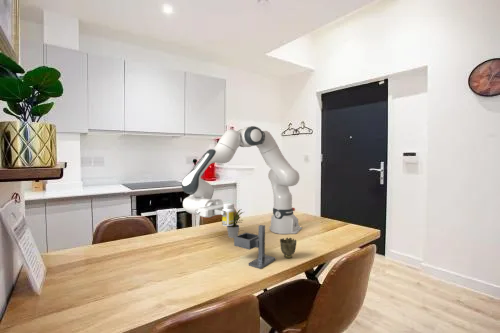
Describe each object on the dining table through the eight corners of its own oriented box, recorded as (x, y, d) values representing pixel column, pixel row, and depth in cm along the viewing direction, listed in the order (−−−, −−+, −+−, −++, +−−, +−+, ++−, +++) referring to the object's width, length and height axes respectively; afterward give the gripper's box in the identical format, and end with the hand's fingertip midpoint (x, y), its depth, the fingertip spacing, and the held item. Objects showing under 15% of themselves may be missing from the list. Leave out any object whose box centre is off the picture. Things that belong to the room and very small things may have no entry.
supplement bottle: (233, 223, 130) (233, 203, 130) (233, 226, 125) (233, 205, 124) (222, 223, 130) (222, 203, 129) (221, 226, 124) (221, 205, 124)
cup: (283, 261, 118) (283, 243, 117) (277, 255, 125) (277, 238, 124) (299, 259, 120) (299, 241, 119) (292, 253, 127) (292, 236, 126)
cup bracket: (247, 252, 128) (248, 219, 127) (275, 259, 119) (275, 224, 118) (231, 260, 118) (231, 224, 118) (260, 269, 109) (260, 230, 109)
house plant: (249, 233, 159) (249, 205, 159) (246, 240, 146) (246, 210, 145) (225, 232, 161) (225, 205, 160) (220, 239, 147) (220, 210, 146)
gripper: (192, 204, 126) (213, 208, 118) (221, 199, 143) (242, 201, 134) (192, 218, 126) (213, 222, 118) (221, 210, 143) (242, 214, 135)
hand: (229, 211), depth 126 cm, fingers closed on supplement bottle, 5 cm apart
